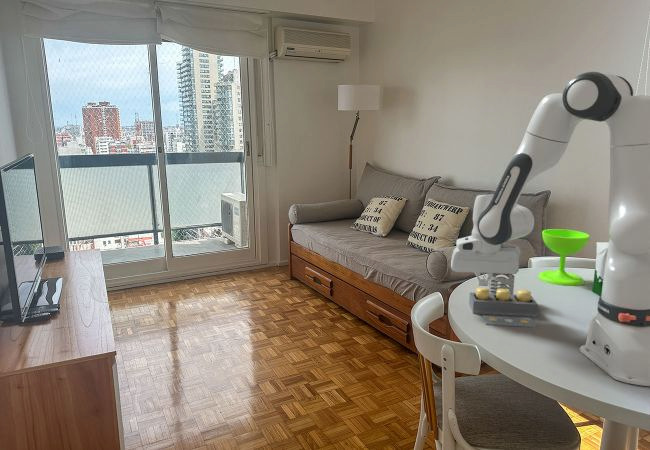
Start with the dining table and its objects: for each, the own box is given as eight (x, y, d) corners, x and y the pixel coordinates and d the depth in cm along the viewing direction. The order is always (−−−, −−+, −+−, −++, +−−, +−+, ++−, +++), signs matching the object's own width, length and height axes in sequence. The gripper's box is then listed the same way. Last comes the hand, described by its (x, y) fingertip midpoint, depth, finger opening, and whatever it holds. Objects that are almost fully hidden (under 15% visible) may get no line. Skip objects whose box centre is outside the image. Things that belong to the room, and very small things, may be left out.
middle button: (510, 302, 141) (511, 293, 141) (497, 301, 142) (498, 292, 141) (507, 297, 145) (508, 288, 145) (494, 297, 146) (495, 288, 145)
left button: (490, 301, 142) (490, 292, 142) (476, 300, 143) (477, 291, 142) (487, 296, 146) (488, 288, 146) (474, 296, 147) (475, 287, 146)
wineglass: (580, 275, 179) (585, 230, 176) (588, 287, 164) (593, 239, 161) (536, 271, 184) (540, 228, 181) (539, 283, 170) (544, 236, 166)
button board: (545, 327, 131) (546, 315, 130) (477, 324, 134) (478, 311, 133) (529, 307, 147) (530, 295, 146) (469, 303, 150) (469, 292, 149)
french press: (511, 305, 148) (517, 231, 143) (476, 297, 155) (480, 226, 150) (519, 296, 156) (525, 225, 151) (485, 289, 163) (490, 221, 158)
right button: (531, 303, 140) (532, 294, 140) (518, 302, 141) (518, 293, 140) (528, 298, 144) (528, 289, 144) (514, 298, 145) (515, 289, 144)
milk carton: (600, 299, 153) (607, 241, 149) (587, 290, 162) (594, 235, 158) (627, 299, 153) (635, 242, 149) (613, 290, 161) (620, 236, 157)
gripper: (518, 242, 142) (514, 283, 145) (451, 239, 146) (449, 280, 148) (523, 246, 136) (519, 290, 139) (453, 244, 139) (451, 287, 142)
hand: (482, 285), depth 144 cm, fingers closed
